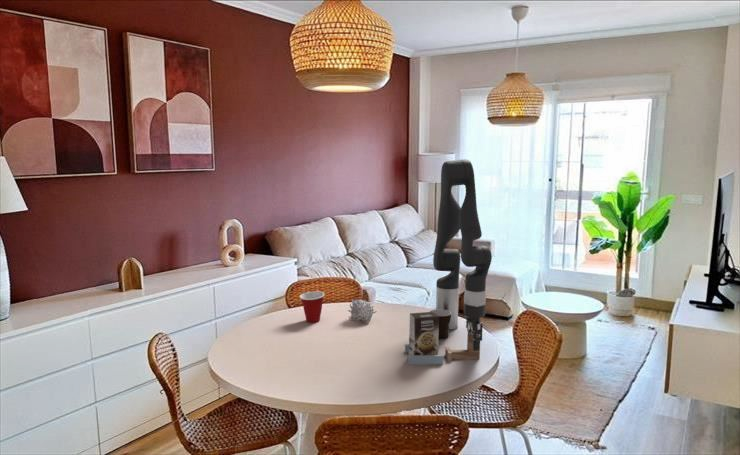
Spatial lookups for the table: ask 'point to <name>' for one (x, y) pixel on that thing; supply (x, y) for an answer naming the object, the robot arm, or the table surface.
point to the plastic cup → (312, 305)
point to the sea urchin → (361, 310)
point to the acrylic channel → (423, 358)
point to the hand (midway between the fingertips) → (473, 346)
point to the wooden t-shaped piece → (463, 351)
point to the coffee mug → (443, 322)
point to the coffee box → (423, 333)
